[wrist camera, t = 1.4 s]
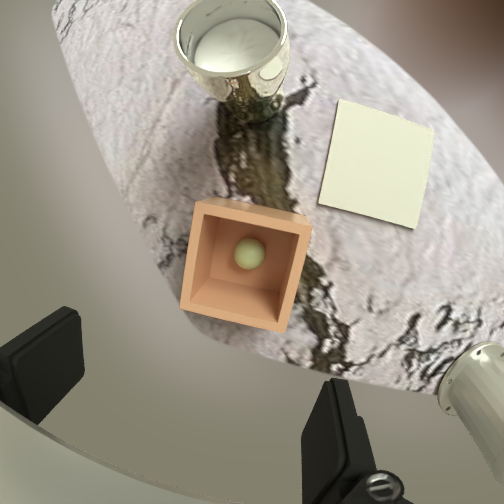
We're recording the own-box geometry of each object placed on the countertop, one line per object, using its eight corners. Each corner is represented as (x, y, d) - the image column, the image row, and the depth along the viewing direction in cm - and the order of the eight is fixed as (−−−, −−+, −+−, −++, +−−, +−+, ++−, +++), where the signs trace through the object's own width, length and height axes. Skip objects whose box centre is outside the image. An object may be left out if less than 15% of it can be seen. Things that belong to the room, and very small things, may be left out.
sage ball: (268, 239, 31) (267, 245, 28) (262, 267, 31) (260, 276, 28) (239, 232, 31) (234, 237, 28) (233, 261, 31) (228, 269, 28)
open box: (304, 215, 30) (312, 226, 23) (284, 298, 33) (284, 333, 25) (217, 196, 31) (195, 201, 23) (202, 279, 33) (179, 308, 25)
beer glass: (226, 134, 29) (178, 95, 15) (214, 74, 28) (163, 3, 13) (294, 120, 28) (305, 66, 14) (279, 60, 27) (275, -24, 13)
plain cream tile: (433, 131, 27) (434, 131, 27) (414, 228, 30) (415, 229, 29) (338, 99, 27) (339, 98, 27) (317, 203, 30) (318, 203, 30)
